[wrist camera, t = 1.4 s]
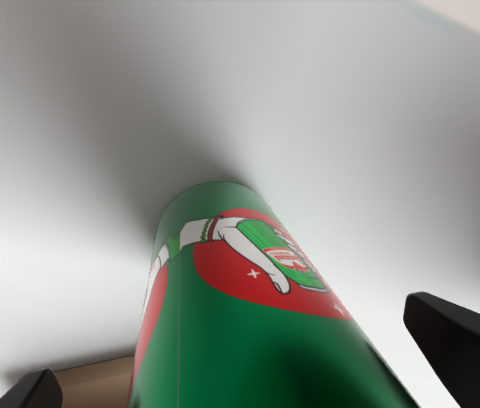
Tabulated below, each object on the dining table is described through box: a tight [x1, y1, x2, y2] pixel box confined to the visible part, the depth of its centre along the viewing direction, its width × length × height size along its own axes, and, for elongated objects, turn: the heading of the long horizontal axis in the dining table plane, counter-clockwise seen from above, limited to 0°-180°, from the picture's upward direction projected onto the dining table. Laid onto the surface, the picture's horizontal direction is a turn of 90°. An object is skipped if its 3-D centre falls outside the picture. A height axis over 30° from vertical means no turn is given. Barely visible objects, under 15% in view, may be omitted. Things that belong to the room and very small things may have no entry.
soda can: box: [126, 181, 421, 408], centre depth 8 cm, size 5×5×12 cm
